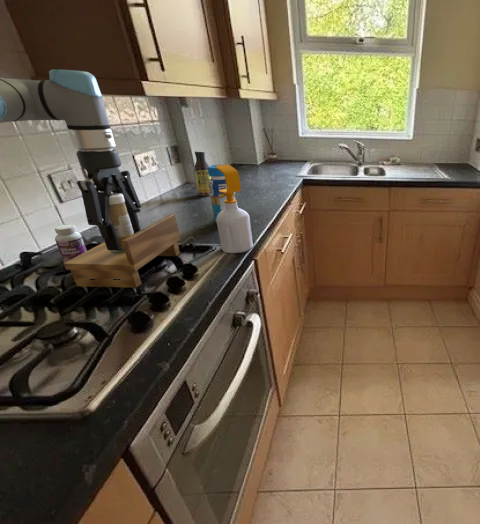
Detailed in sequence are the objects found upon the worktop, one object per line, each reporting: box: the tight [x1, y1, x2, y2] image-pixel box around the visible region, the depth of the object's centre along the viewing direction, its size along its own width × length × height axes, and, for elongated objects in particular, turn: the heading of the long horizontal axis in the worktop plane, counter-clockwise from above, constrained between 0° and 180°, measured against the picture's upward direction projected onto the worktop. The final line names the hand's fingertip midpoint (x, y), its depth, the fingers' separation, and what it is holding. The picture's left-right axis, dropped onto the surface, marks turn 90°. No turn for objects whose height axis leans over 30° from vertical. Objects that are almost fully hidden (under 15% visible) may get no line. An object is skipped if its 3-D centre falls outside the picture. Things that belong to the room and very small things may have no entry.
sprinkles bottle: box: [109, 192, 134, 249], centre depth 82 cm, size 5×5×14 cm
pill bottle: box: [54, 224, 88, 263], centre depth 88 cm, size 5×5×10 cm
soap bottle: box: [216, 164, 254, 254], centre depth 96 cm, size 9×9×25 cm
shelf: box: [63, 213, 181, 289], centre depth 85 cm, size 16×20×12 cm
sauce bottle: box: [194, 150, 211, 197], centre depth 152 cm, size 6×6×20 cm
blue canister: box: [207, 164, 236, 224], centre depth 119 cm, size 8×8×20 cm
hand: (126, 243), depth 84 cm, fingers open, 8 cm apart
